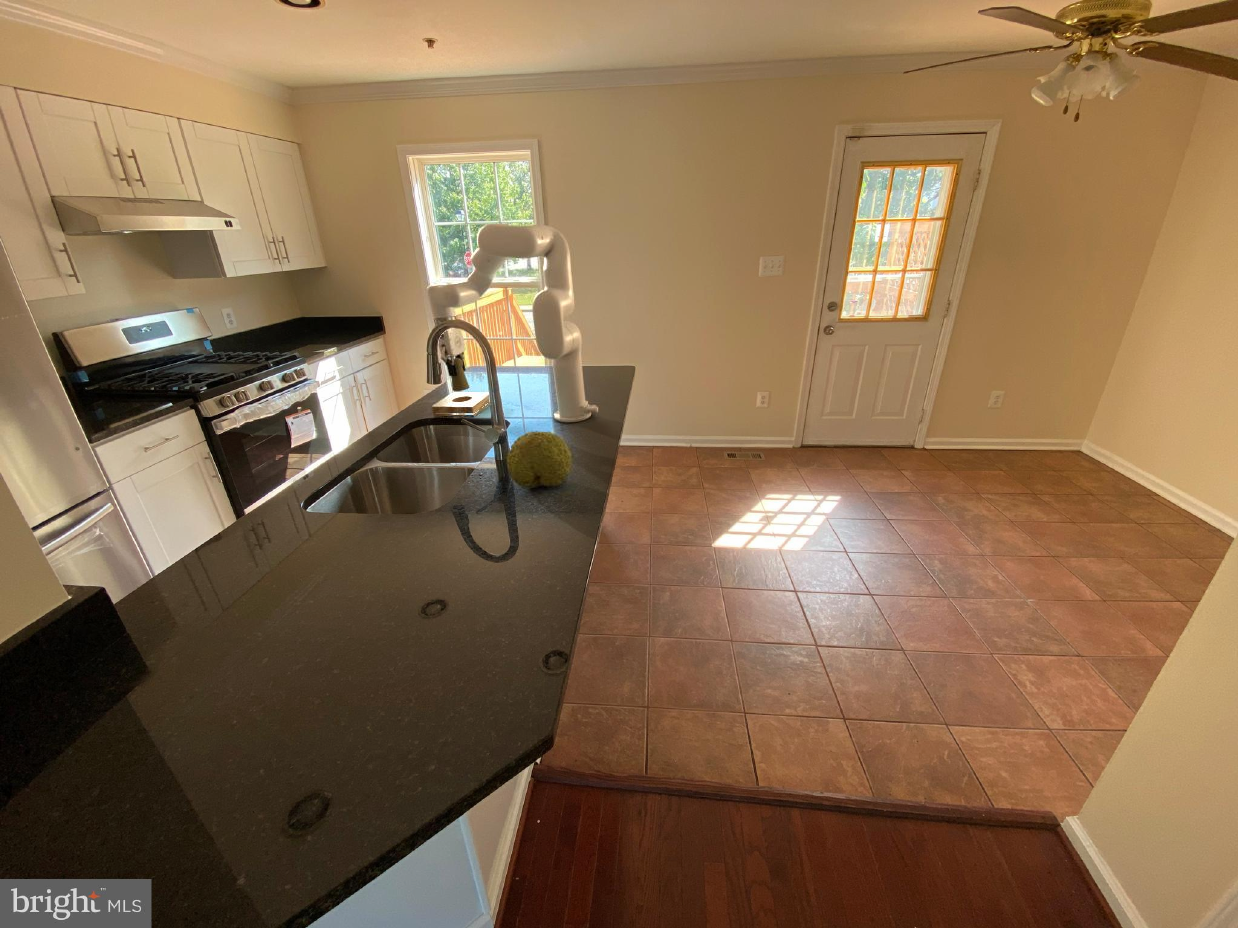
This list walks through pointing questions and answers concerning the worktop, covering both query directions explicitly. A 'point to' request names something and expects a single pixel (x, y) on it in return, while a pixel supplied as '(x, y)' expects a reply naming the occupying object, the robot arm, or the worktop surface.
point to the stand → (462, 403)
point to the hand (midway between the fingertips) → (457, 372)
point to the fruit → (539, 460)
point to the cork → (459, 377)
